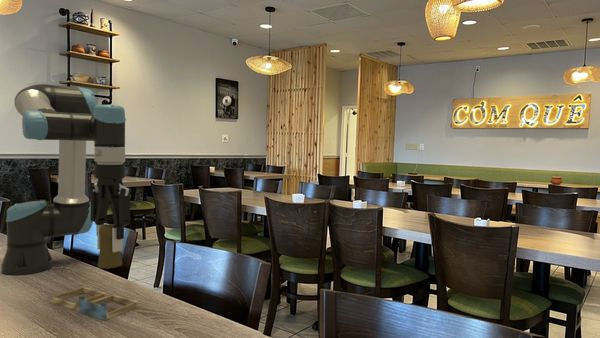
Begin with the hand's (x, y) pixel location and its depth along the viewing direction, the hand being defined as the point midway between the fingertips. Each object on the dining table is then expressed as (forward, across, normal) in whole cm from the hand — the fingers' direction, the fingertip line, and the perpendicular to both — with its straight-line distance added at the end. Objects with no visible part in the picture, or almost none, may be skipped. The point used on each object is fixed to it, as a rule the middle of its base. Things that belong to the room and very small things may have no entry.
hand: (110, 249), depth 114 cm
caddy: (+16, -7, 0) cm, 18 cm away
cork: (+4, 0, 0) cm, 4 cm away
